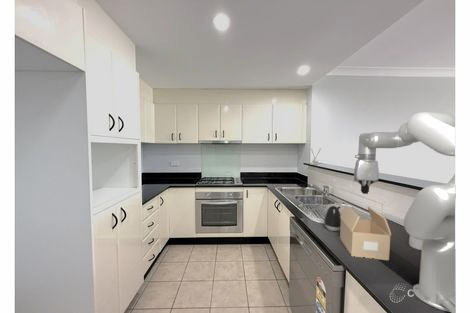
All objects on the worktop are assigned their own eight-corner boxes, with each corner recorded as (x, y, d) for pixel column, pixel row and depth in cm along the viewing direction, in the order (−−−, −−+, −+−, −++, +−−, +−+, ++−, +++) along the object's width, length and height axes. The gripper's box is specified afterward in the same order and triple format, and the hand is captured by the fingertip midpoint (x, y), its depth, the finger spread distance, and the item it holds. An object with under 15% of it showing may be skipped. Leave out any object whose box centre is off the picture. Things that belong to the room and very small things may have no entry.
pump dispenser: (345, 231, 130) (346, 207, 129) (333, 234, 126) (334, 209, 125) (332, 225, 140) (333, 203, 139) (320, 227, 136) (321, 204, 135)
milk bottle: (421, 251, 106) (424, 213, 105) (405, 244, 114) (407, 208, 113) (432, 250, 109) (434, 212, 107) (415, 243, 116) (418, 207, 115)
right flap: (390, 235, 98) (391, 235, 97) (384, 219, 98) (385, 218, 98) (372, 220, 117) (373, 220, 117) (367, 206, 117) (368, 206, 117)
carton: (388, 260, 98) (390, 236, 97) (351, 256, 101) (352, 232, 101) (370, 241, 118) (371, 220, 117) (339, 238, 121) (340, 218, 120)
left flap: (340, 217, 120) (339, 217, 120) (346, 205, 119) (345, 204, 119) (352, 231, 101) (351, 231, 101) (359, 217, 100) (358, 216, 100)
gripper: (353, 157, 104) (351, 194, 106) (387, 158, 101) (384, 196, 103) (348, 156, 112) (346, 190, 113) (379, 157, 109) (377, 192, 110)
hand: (364, 193), depth 108 cm, fingers closed
